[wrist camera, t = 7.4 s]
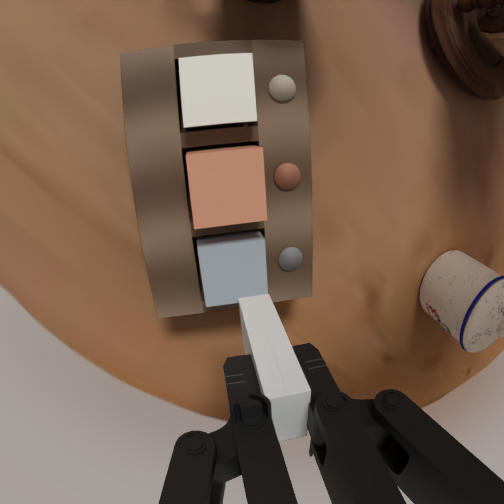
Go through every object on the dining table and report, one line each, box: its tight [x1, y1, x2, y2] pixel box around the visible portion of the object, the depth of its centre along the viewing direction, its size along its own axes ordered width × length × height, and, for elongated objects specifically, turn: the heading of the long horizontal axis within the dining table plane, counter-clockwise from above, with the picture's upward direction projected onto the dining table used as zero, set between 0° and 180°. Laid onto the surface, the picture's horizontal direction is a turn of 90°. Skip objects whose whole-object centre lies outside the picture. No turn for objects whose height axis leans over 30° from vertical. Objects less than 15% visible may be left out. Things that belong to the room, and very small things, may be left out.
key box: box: [120, 40, 313, 318], centre depth 23 cm, size 19×12×5 cm, turn 4°
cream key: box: [178, 53, 257, 129], centre depth 20 cm, size 4×4×5 cm
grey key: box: [197, 229, 268, 307], centre depth 24 cm, size 4×4×5 cm
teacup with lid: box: [420, 250, 504, 353], centre depth 29 cm, size 12×9×12 cm
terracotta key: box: [186, 144, 267, 229], centre depth 21 cm, size 4×4×5 cm
